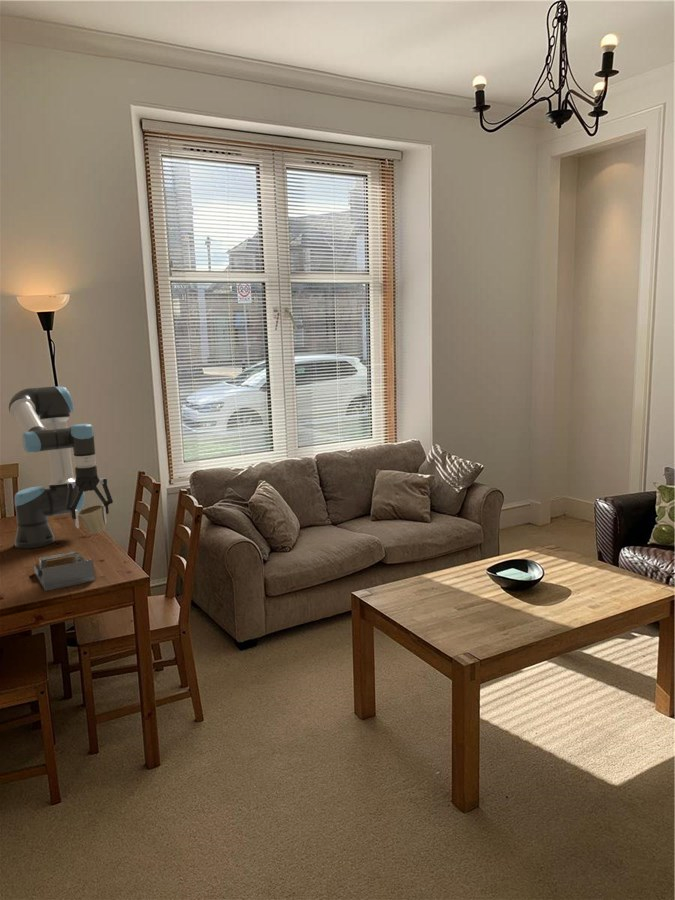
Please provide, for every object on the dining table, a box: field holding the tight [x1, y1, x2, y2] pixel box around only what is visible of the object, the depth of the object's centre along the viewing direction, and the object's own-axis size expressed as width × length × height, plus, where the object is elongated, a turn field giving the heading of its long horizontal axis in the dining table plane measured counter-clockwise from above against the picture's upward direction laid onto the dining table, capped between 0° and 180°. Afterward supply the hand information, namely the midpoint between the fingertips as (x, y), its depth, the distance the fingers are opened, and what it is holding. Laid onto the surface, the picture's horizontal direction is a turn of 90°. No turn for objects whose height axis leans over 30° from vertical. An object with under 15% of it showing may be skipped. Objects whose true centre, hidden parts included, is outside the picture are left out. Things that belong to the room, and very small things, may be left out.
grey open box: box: [33, 554, 96, 592], centre depth 233 cm, size 22×16×8 cm
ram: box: [38, 550, 80, 570], centre depth 238 cm, size 5×13×4 cm, turn 122°
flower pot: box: [78, 504, 106, 535], centre depth 248 cm, size 9×9×9 cm
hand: (91, 524), depth 248 cm, fingers closed on flower pot, 9 cm apart
